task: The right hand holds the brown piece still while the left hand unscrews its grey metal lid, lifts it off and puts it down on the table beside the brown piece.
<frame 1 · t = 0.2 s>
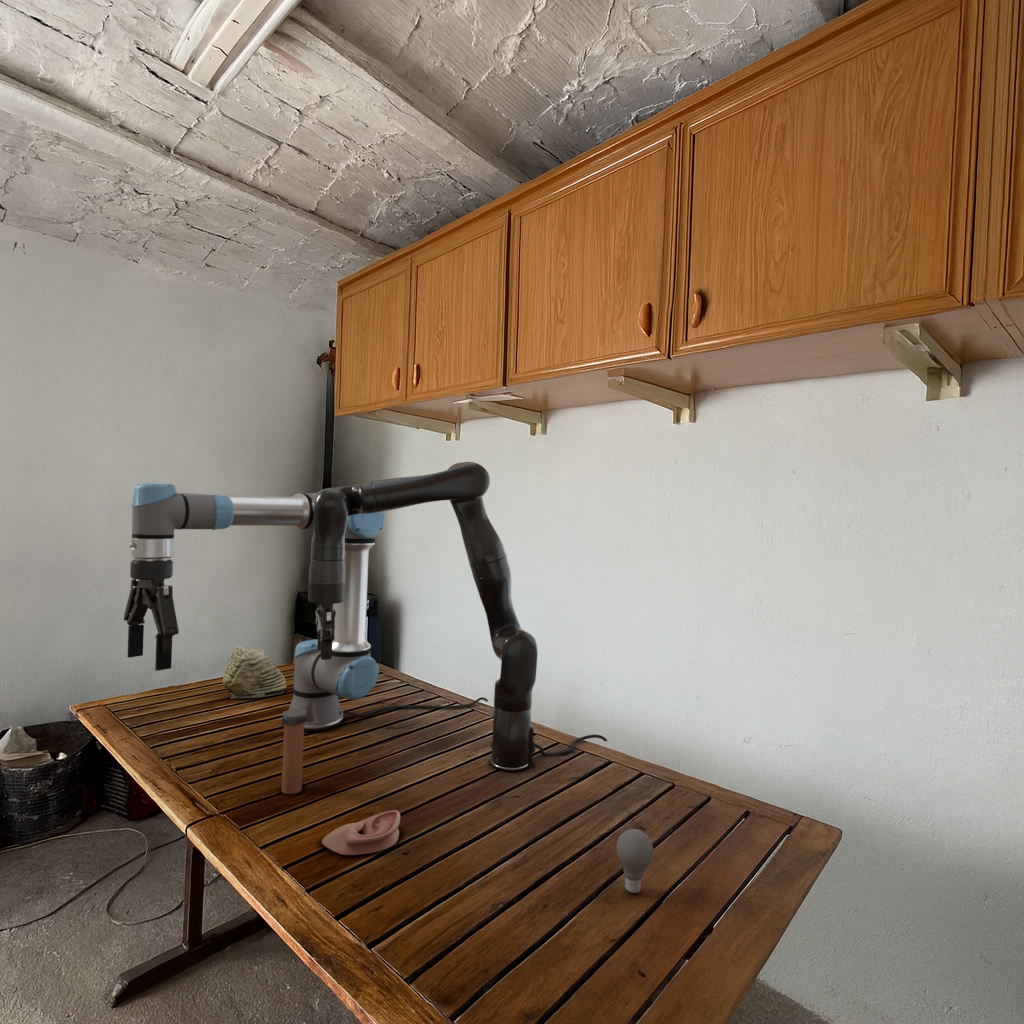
left hand: (148, 662, 129), 28 cm above the table, tool pointing down, fingers open, 13 cm apart
right hand: (324, 654, 138), 29 cm above the table, tool pointing down, fingers open, 8 cm apart
light bulb: (632, 891, 106), on the table
brown piece: (291, 789, 136), on the table
anatomical model: (361, 840, 118), on the table
fossil: (254, 694, 198), on the table
lid: (294, 714, 136), point 16 cm above the table, screwed on, not yet turned
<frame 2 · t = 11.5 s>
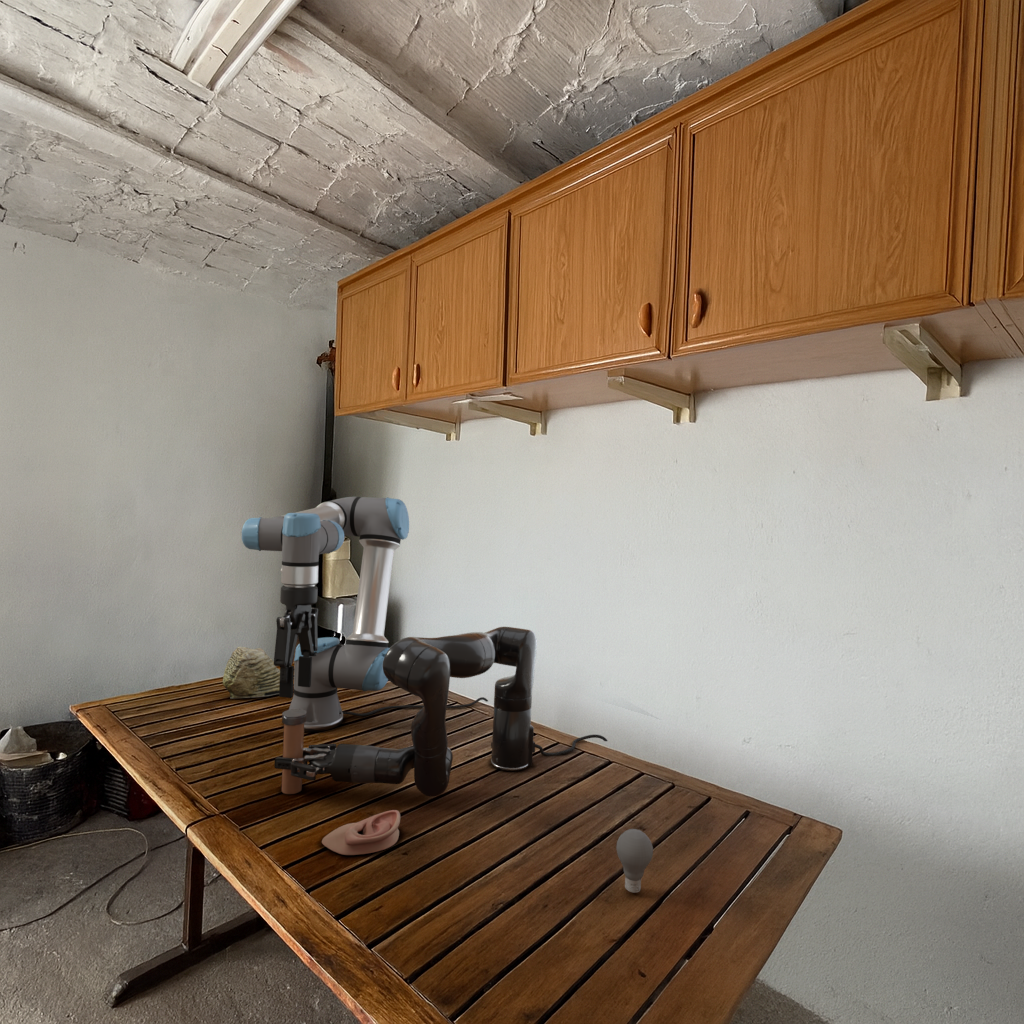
left hand: (295, 691, 136), 21 cm above the table, tool pointing down, fingers open, 7 cm apart
right hand: (280, 758, 136), 7 cm above the table, tool horizontal, fingers closed on brown piece, 4 cm apart
brown piece: (291, 789, 136), on the table, touching right hand
everything else where it was.
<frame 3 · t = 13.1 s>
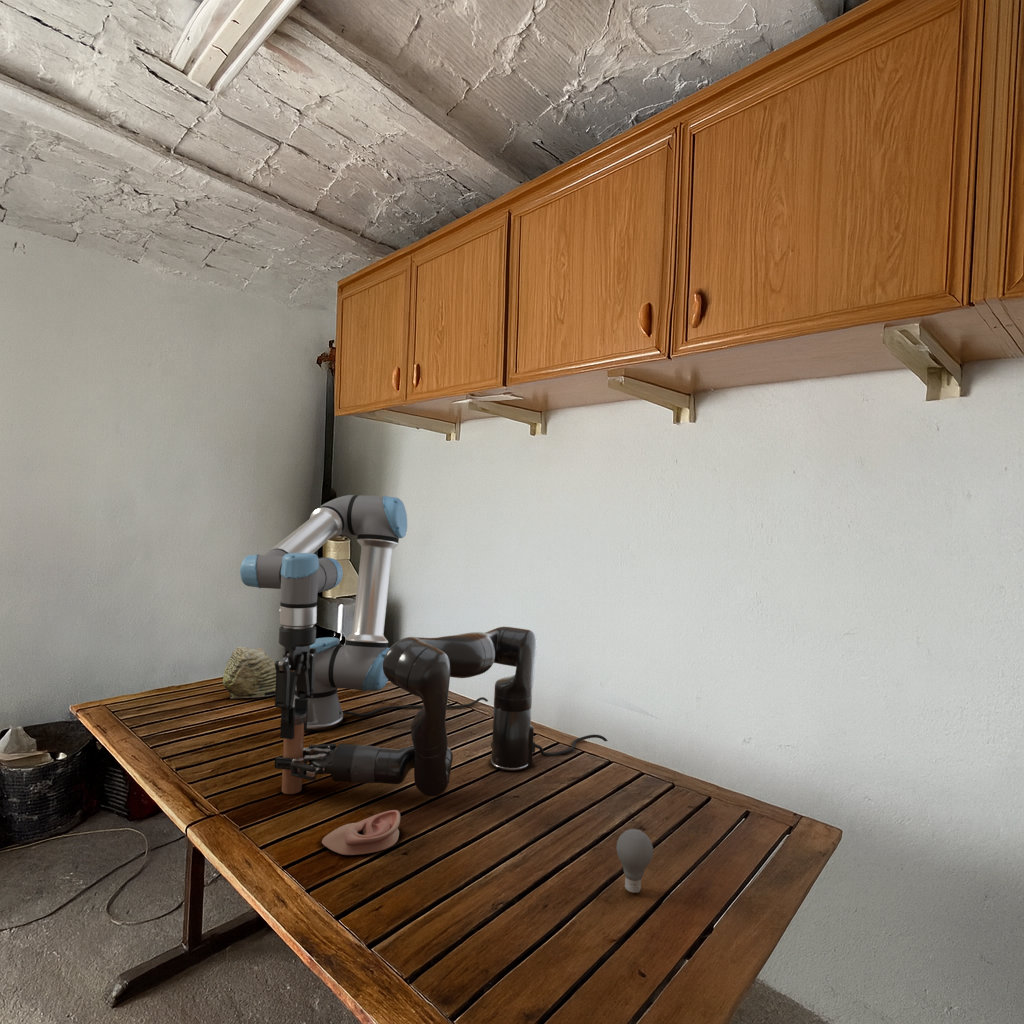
left hand: (293, 733, 136), 12 cm above the table, tool pointing down, fingers closed on lid, 5 cm apart
right hand: (280, 758, 136), 7 cm above the table, tool horizontal, fingers closed on brown piece, 4 cm apart
brown piece: (291, 789, 136), on the table, touching right hand
lid: (294, 714, 136), point 16 cm above the table, screwed on, not yet turned, touching left hand
everything else where it was.
when the left hand's fingers open (0 cm above the table, at t = 22.4 s): lid drops 3 cm, point 1 cm above the table.
when the right hand's fingers open (7 cm above the table, at t = 23.0 s): brown piece stays where it is, on the table.
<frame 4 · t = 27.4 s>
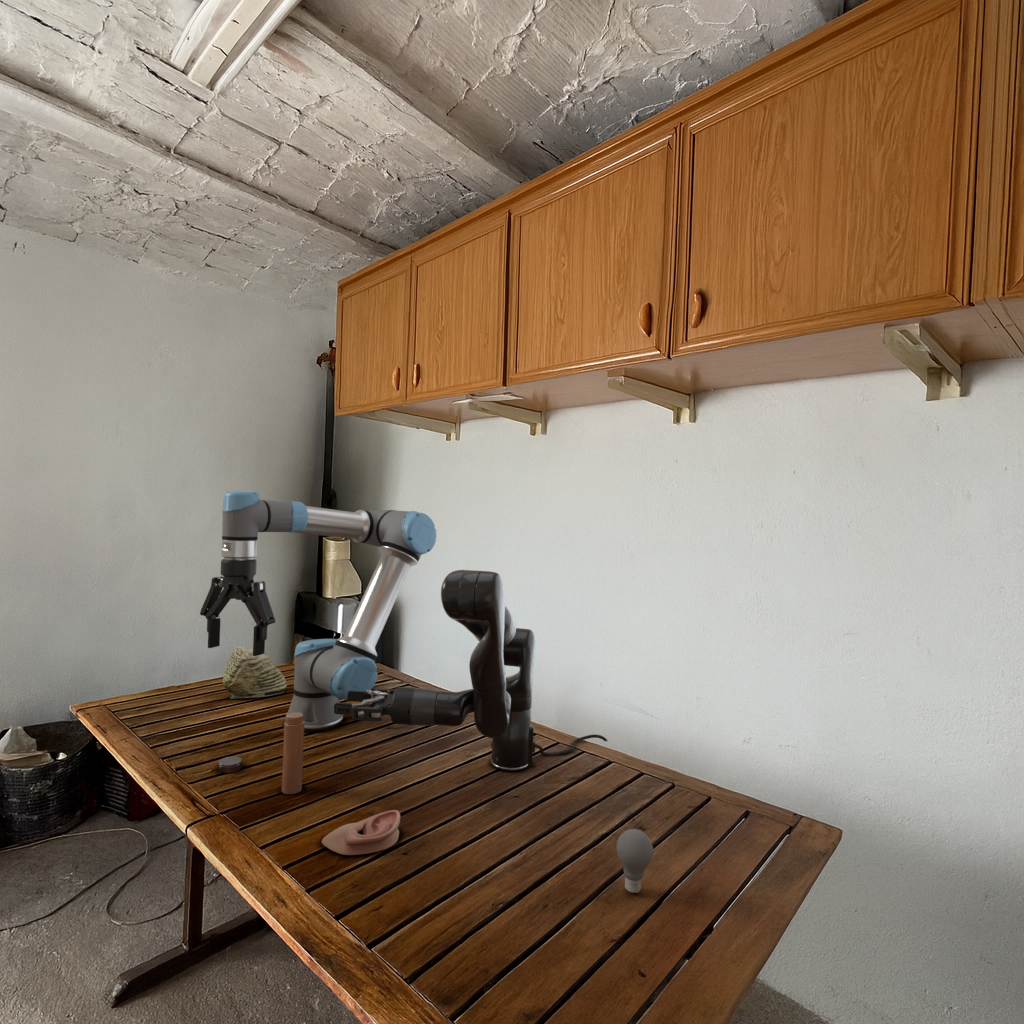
left hand: (235, 650, 145), 27 cm above the table, tool pointing down, fingers open, 13 cm apart
right hand: (341, 701, 135), 20 cm above the table, tool horizontal, fingers open, 8 cm apart
brown piece: (291, 789, 136), on the table
lid: (230, 762, 145), point 1 cm above the table, off its thread
everything else where it was.
at the end: lid came off its thread; lid point 1.5 cm above the table; the left hand is holding nothing; the right hand is holding nothing; brown piece tilted 0°; brown piece moved 0.0 cm from its start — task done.
